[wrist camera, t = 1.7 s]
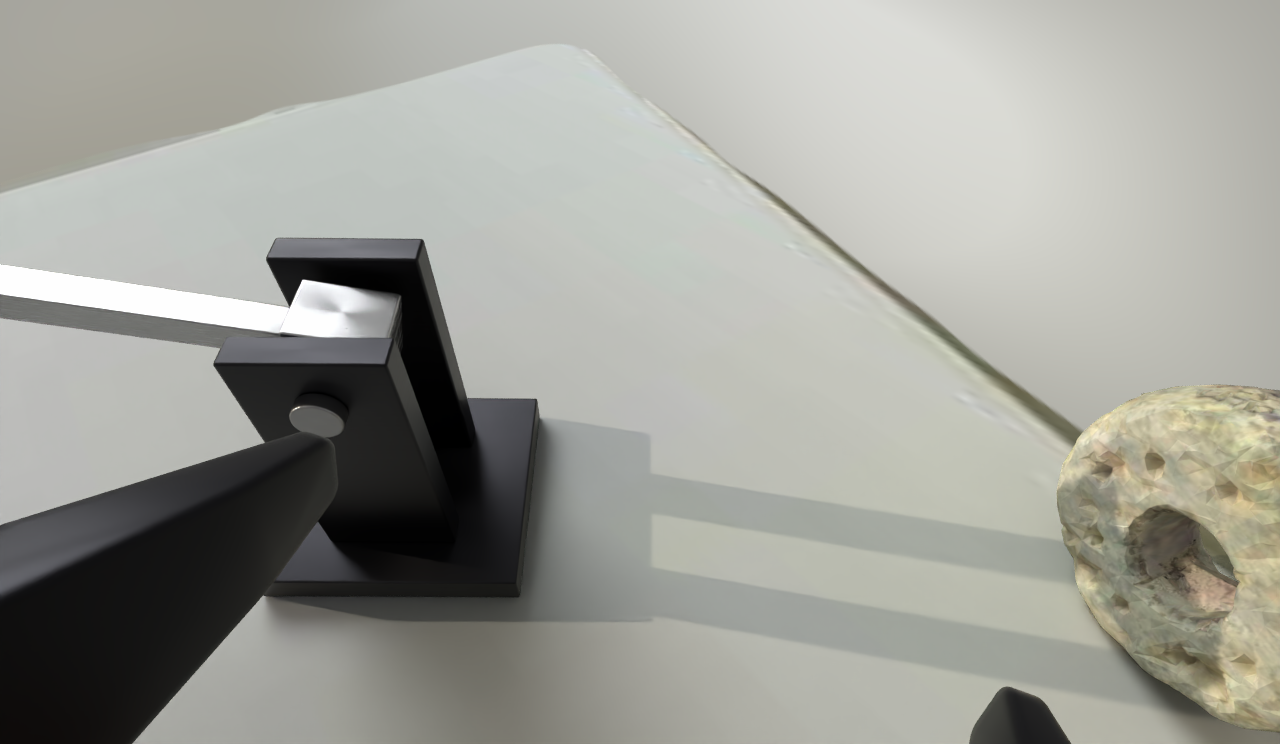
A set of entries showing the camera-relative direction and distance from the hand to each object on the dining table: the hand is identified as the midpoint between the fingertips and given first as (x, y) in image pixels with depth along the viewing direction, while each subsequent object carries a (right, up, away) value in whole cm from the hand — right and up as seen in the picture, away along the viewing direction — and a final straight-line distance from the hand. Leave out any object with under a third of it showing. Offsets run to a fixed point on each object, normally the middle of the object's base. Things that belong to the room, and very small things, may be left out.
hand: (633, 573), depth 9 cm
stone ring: (+17, -6, +16) cm, 25 cm away
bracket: (-9, -2, +19) cm, 21 cm away
